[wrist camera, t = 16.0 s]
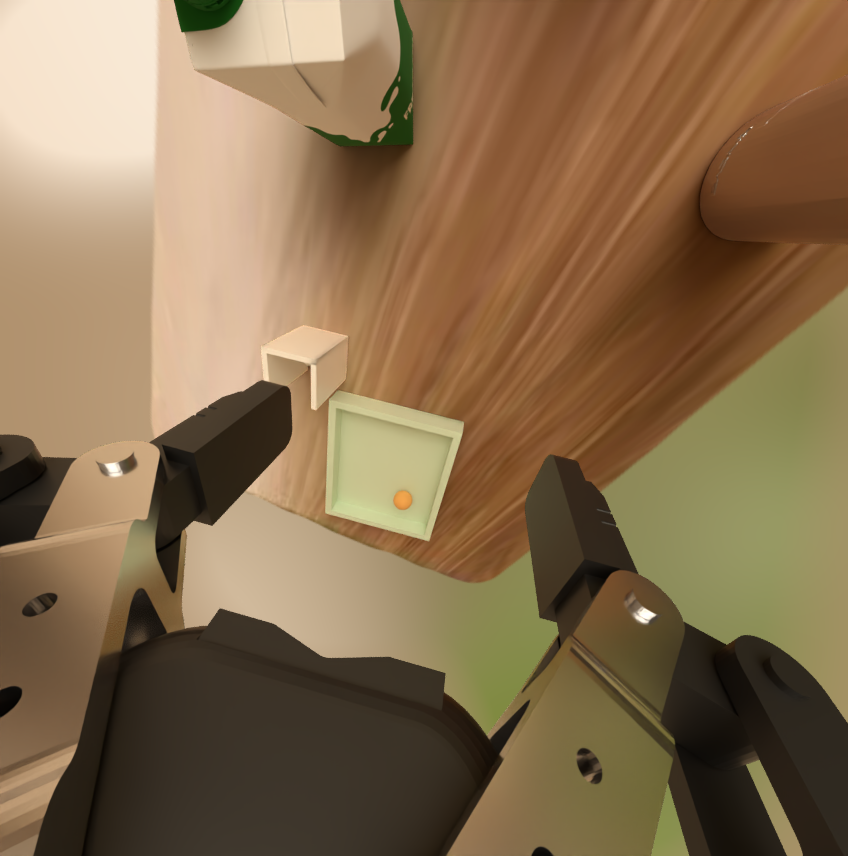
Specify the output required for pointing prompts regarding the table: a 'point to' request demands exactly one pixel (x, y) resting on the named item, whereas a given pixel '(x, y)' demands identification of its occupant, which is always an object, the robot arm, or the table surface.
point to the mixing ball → (402, 500)
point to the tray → (387, 463)
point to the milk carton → (312, 61)
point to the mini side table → (307, 360)
